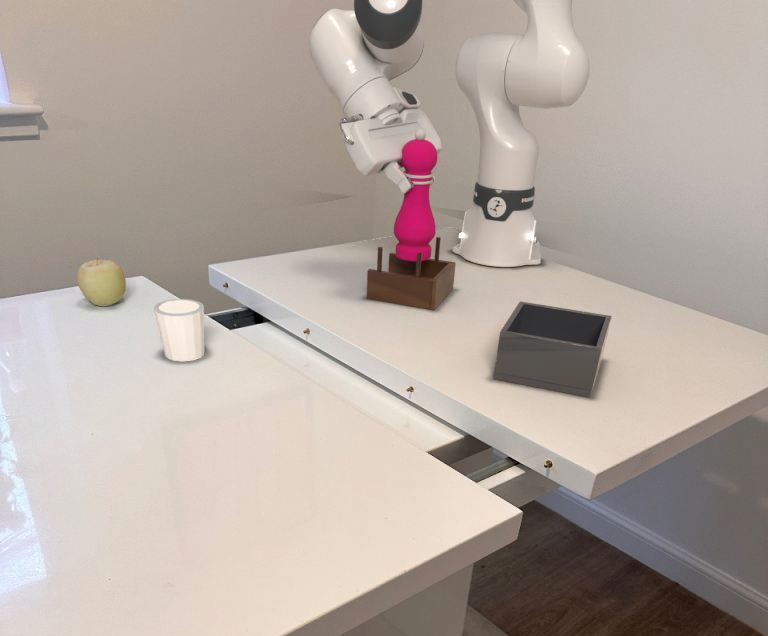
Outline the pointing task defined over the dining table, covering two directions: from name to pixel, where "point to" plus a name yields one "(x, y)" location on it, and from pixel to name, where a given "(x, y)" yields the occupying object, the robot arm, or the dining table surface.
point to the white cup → (181, 328)
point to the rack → (412, 280)
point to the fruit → (101, 282)
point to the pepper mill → (416, 200)
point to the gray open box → (552, 348)
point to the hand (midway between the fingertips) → (420, 187)
